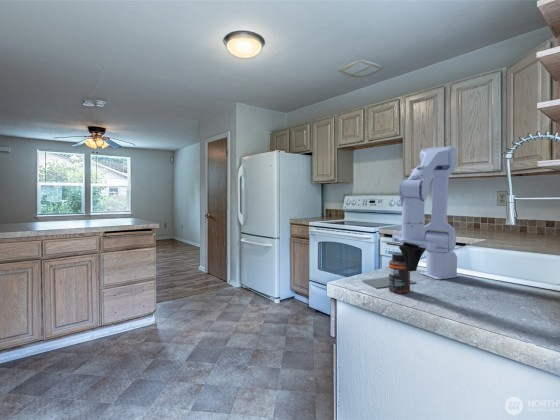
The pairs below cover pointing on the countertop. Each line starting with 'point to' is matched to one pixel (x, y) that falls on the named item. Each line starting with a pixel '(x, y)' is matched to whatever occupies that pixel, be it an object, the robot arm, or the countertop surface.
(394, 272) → the supplement bottle
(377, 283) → the mat
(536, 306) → the countertop surface
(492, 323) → the countertop surface
